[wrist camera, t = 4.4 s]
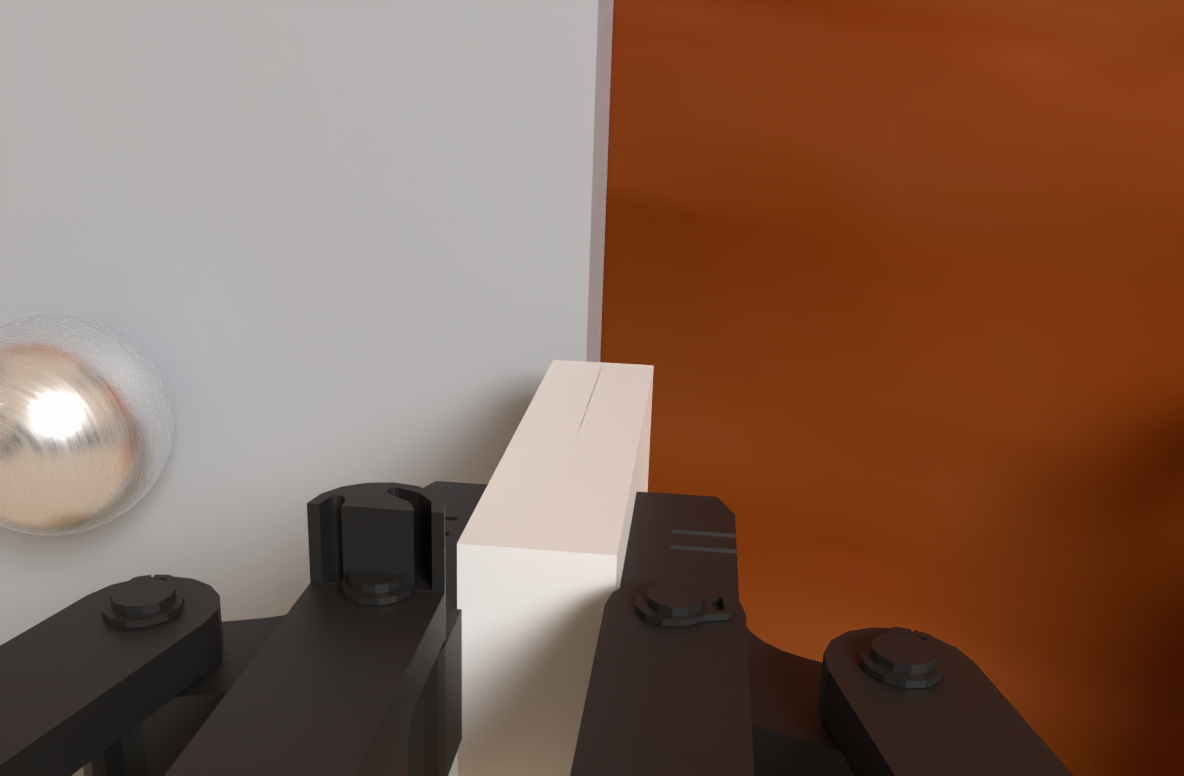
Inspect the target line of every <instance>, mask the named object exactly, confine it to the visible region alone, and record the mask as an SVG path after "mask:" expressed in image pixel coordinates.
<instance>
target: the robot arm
mask: <svg viewBox="0 0 1184 776" xmlns="http://www.w3.org/2000/svg"><path fill="white" fill-rule="evenodd" d="M653 367H654V366H653V365H636V364H619V363H601V362H584V361H567V360H553V361H552V363H551V365H550V367H549V369H548V371H547V373H546V375H545V377H544V378H543V380H542V382H541V384H540V386H539V388H538V390H537V392H536V394H535V396H534V398H533V399H532V401H531V403H530V405H529V407H528V409H527V411H526V413H525V415H524V417H523V418H522V420H521V422H520V424H519V426H518V428H517V430H516V432H515V434H514V436H513V438H512V439H511V441H510V443H509V445H508V447H507V449H506V451H505V453H504V455H503V457H502V459H501V460H500V462H499V464H498V466H497V468H496V470H495V472H494V474H493V476H492V478H491V480H490V481H489V483H488V484H474V483H460V482H445V481H435V482H433V483H431V484H429V485H427V486H426V487H424V488H422V487H419V486H415V485H408V484H402V483H395V482H374V483H361V484H355V485H348V486H342V487H339V488H336V489H333V490H330V491H327V492H324V493H321V494H320V495H318V496H317V497H315V498H314V499H312V500H311V501H309V502H308V503H307V520H308V541H309V563H310V584H309V585H308V586H307V588H306V589H305V590H304V592H303V593H302V594H301V596H300V597H299V598H298V600H297V601H296V602H295V604H294V605H293V606H292V607H291V609H290V610H289V611H288V613H287V614H286V615H282V616H275V617H268V618H257V619H246V620H235V621H223V622H222V619H221V605H220V596H219V594H218V593H217V592H216V591H215V590H214V589H213V588H212V586H211V585H208V584H206V583H203V582H200V581H198V580H195V579H192V578H183V577H173V576H171V575H167V574H165V575H154V577H151V575H145V576H138V577H134V578H132V579H131V580H129V581H125V582H121V583H117V584H112V585H109V586H107V587H105V588H103V589H100V590H98V591H96V592H93V593H91V594H89V595H87V596H85V597H83V598H81V599H80V600H78V601H76V602H75V603H73V604H71V605H69V606H68V607H66V608H64V609H62V610H61V611H59V612H57V613H56V614H54V615H52V616H50V617H49V618H47V619H45V620H44V621H42V622H40V623H38V624H37V625H35V626H33V627H31V628H30V629H28V630H26V631H25V632H23V633H21V634H19V635H18V636H16V637H14V638H12V639H11V640H9V641H7V642H6V643H4V644H2V645H0V776H72V775H73V774H74V773H76V772H77V771H78V770H80V769H81V768H82V767H83V775H84V776H448V775H449V772H450V770H451V767H452V764H453V762H454V759H455V756H456V753H457V751H458V776H1073V775H1072V774H1071V773H1070V771H1069V770H1068V769H1067V768H1066V767H1065V766H1064V765H1063V763H1062V762H1061V761H1060V760H1059V759H1058V758H1057V757H1056V755H1055V754H1054V753H1053V752H1052V751H1051V750H1050V748H1049V747H1048V746H1047V745H1046V744H1045V743H1044V742H1043V740H1042V739H1041V738H1040V737H1039V736H1038V735H1037V734H1036V732H1035V731H1034V730H1033V729H1032V728H1031V727H1030V726H1029V724H1028V723H1027V722H1026V721H1025V720H1024V719H1023V718H1022V716H1021V715H1020V714H1019V713H1018V712H1017V711H1016V710H1015V708H1014V707H1013V706H1012V705H1011V704H1010V703H1009V701H1008V700H1007V699H1006V698H1005V697H1004V696H1003V695H1002V693H1001V692H1000V691H999V690H998V689H997V688H996V687H995V685H994V684H993V683H992V682H991V681H990V680H989V679H988V677H987V676H986V675H985V674H984V673H983V672H982V671H981V669H980V668H979V667H978V666H977V665H976V664H975V663H974V662H973V661H972V660H971V659H970V658H968V657H967V656H966V655H965V654H963V653H962V652H961V651H960V650H958V649H957V648H956V647H953V646H951V645H949V644H947V643H945V642H942V641H940V640H938V639H936V638H934V637H932V636H931V635H929V634H926V633H922V632H919V631H916V630H914V632H911V629H905V628H899V627H893V628H867V629H860V630H854V631H848V632H846V633H844V634H842V635H840V636H839V637H837V638H835V639H833V640H831V642H830V643H829V645H828V647H827V649H826V650H825V652H824V656H823V663H822V662H818V661H814V660H810V659H807V658H803V657H799V656H796V655H793V654H790V653H787V652H784V651H781V650H779V649H777V648H775V647H773V646H771V645H769V644H767V643H765V642H763V641H762V640H761V639H759V638H758V637H757V636H755V635H754V634H753V633H751V632H750V631H749V629H748V628H747V626H746V614H745V612H744V610H743V608H742V606H741V603H740V602H739V593H738V571H737V554H736V528H735V514H734V513H733V512H732V511H731V510H730V509H729V508H728V507H727V506H726V505H725V504H724V503H723V502H722V501H721V500H720V499H719V498H718V497H709V496H694V495H680V494H665V493H651V492H647V489H648V469H649V448H650V428H651V408H652V387H653Z"/></svg>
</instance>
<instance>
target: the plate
mask: <svg viewBox="0 0 1184 776" xmlns="http://www.w3.org/2000/svg"><path fill="white" fill-rule="evenodd" d="M612 26H613V0H0V325H2V324H4V323H7V322H10V321H13V320H17V319H20V318H24V317H29V316H36V315H52V314H62V315H70V316H77V317H82V318H86V319H90V320H94V321H97V322H99V323H102V324H104V325H107V326H109V327H111V328H113V329H115V330H116V331H118V332H120V333H122V334H124V335H125V336H126V337H128V338H129V339H131V340H132V341H134V342H135V343H136V344H137V345H138V346H139V347H140V348H142V349H143V350H144V352H145V353H146V354H147V355H148V356H149V357H150V358H151V359H152V361H153V362H154V364H155V365H156V366H157V368H158V369H159V371H160V373H161V375H162V376H163V378H164V380H165V382H166V385H167V387H168V390H169V393H170V396H171V400H172V405H173V412H174V435H173V443H172V446H171V450H170V454H169V457H168V460H167V462H166V464H165V467H164V469H163V471H162V473H161V474H160V476H159V477H158V479H157V480H156V482H155V484H154V485H153V487H152V488H151V489H150V490H149V491H148V493H147V494H146V495H145V496H144V497H143V498H142V499H141V500H140V501H139V502H138V503H137V504H135V505H134V506H133V507H132V508H131V509H129V510H128V511H127V512H125V513H123V514H122V515H120V516H118V517H117V518H115V519H114V520H112V521H110V522H108V523H106V524H103V525H101V526H98V527H96V528H93V529H90V530H87V531H83V532H79V533H73V534H66V535H57V536H48V535H33V534H26V533H21V532H17V531H13V530H10V529H7V528H4V527H1V526H0V645H2V644H4V643H6V642H7V641H9V640H11V639H12V638H14V637H16V636H18V635H19V634H21V633H23V632H25V631H26V630H28V629H30V628H31V627H33V626H35V625H37V624H38V623H40V622H42V621H44V620H45V619H47V618H49V617H50V616H52V615H54V614H56V613H57V612H59V611H61V610H62V609H64V608H66V607H68V606H69V605H71V604H73V603H75V602H76V601H78V600H80V599H81V598H83V597H85V596H87V595H89V594H91V593H93V592H96V591H98V590H100V589H103V588H105V587H107V586H109V585H112V584H117V583H121V582H125V581H129V580H131V579H132V578H134V577H138V576H145V575H151V577H154V575H165V574H167V575H171V576H173V577H183V578H192V579H195V580H198V581H200V582H203V583H206V584H208V585H211V586H212V588H213V589H214V590H215V591H216V592H217V593H218V594H219V596H220V605H221V619H222V622H223V621H235V620H246V619H257V618H268V617H275V616H282V615H286V614H287V613H288V611H289V610H290V609H291V607H292V606H293V605H294V604H295V602H296V601H297V600H298V598H299V597H300V596H301V594H302V593H303V592H304V590H305V589H306V588H307V586H308V585H309V584H310V563H309V541H308V520H307V503H308V502H309V501H311V500H312V499H314V498H315V497H317V496H318V495H320V494H321V493H324V492H327V491H330V490H333V489H336V488H339V487H342V486H348V485H355V484H361V483H374V482H395V483H402V484H408V485H415V486H419V487H422V488H424V487H426V486H427V485H429V484H431V483H433V482H435V481H445V482H460V483H474V484H488V483H489V481H490V480H491V478H492V476H493V474H494V472H495V470H496V468H497V466H498V464H499V462H500V460H501V459H502V457H503V455H504V453H505V451H506V449H507V447H508V445H509V443H510V441H511V439H512V438H513V436H514V434H515V432H516V430H517V428H518V426H519V424H520V422H521V420H522V418H523V417H524V415H525V413H526V411H527V409H528V407H529V405H530V403H531V401H532V399H533V398H534V396H535V394H536V392H537V390H538V388H539V386H540V384H541V382H542V380H543V378H544V377H545V375H546V373H547V371H548V369H549V367H550V365H551V363H552V361H553V360H567V361H584V362H600V350H601V323H602V296H603V269H604V242H605V215H606V188H607V161H608V134H609V107H610V80H611V53H612ZM72 776H84V775H83V767H82V768H81V769H80V770H78V771H77V772H76V773H74V774H73V775H72ZM448 776H458V751H457V753H456V756H455V759H454V762H453V764H452V767H451V770H450V772H449V775H448Z"/></svg>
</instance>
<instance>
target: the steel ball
mask: <svg viewBox="0 0 1184 776" xmlns="http://www.w3.org/2000/svg"><path fill="white" fill-rule="evenodd" d="M173 435H174V412H173V405H172V400H171V396H170V393H169V390H168V387H167V385H166V382H165V380H164V378H163V376H162V375H161V373H160V371H159V369H158V368H157V366H156V365H155V364H154V362H153V361H152V359H151V358H150V357H149V356H148V355H147V354H146V353H145V352H144V350H143V349H142V348H140V347H139V346H138V345H137V344H136V343H135V342H134V341H132V340H131V339H129V338H128V337H126V336H125V335H124V334H122V333H120V332H118V331H116V330H115V329H113V328H111V327H109V326H107V325H104V324H102V323H99V322H97V321H94V320H90V319H86V318H82V317H77V316H70V315H62V314H52V315H36V316H29V317H24V318H20V319H17V320H13V321H10V322H7V323H4V324H2V325H0V526H1V527H4V528H7V529H10V530H13V531H17V532H21V533H26V534H33V535H48V536H57V535H66V534H73V533H79V532H83V531H87V530H90V529H93V528H96V527H98V526H101V525H103V524H106V523H108V522H110V521H112V520H114V519H115V518H117V517H118V516H120V515H122V514H123V513H125V512H127V511H128V510H129V509H131V508H132V507H133V506H134V505H135V504H137V503H138V502H139V501H140V500H141V499H142V498H143V497H144V496H145V495H146V494H147V493H148V491H149V490H150V489H151V488H152V487H153V485H154V484H155V482H156V480H157V479H158V477H159V476H160V474H161V473H162V471H163V469H164V467H165V464H166V462H167V460H168V457H169V454H170V450H171V446H172V443H173Z"/></svg>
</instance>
